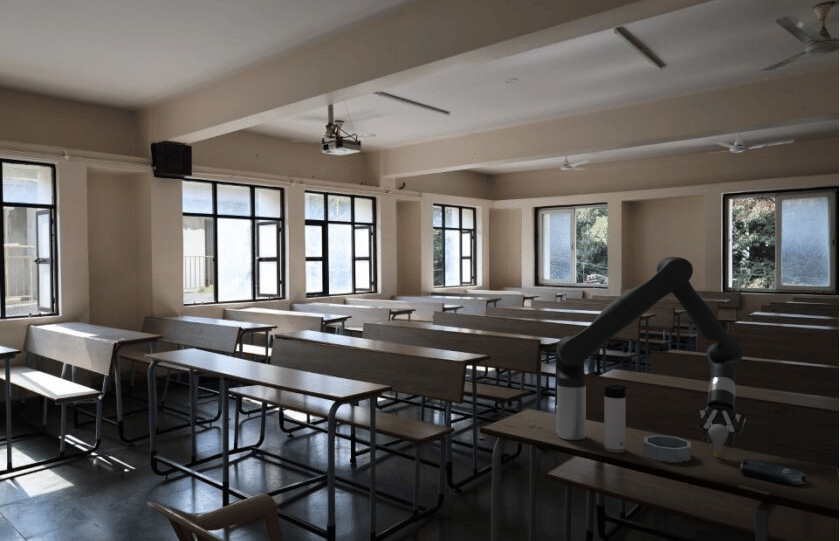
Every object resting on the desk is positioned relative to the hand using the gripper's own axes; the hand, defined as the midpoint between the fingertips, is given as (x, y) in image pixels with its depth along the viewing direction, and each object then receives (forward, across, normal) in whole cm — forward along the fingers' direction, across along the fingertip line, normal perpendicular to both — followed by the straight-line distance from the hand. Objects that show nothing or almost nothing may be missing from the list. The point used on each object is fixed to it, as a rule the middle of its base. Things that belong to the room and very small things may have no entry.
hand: (718, 443), depth 178 cm
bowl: (+5, -14, +1) cm, 15 cm away
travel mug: (+7, -28, 0) cm, 29 cm away
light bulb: (+2, 0, +5) cm, 5 cm away
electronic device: (+9, +14, -2) cm, 17 cm away
